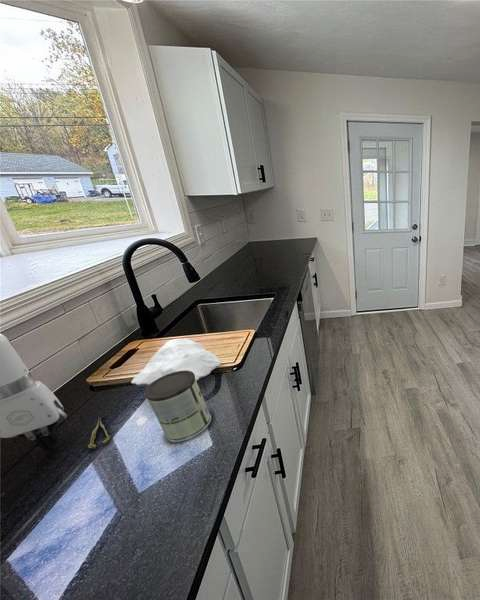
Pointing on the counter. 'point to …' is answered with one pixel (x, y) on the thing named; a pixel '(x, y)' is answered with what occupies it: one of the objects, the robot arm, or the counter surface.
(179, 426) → the coffee can
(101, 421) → the tongs
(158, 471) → the counter surface
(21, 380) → the robot arm
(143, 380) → the crumpled cloth
